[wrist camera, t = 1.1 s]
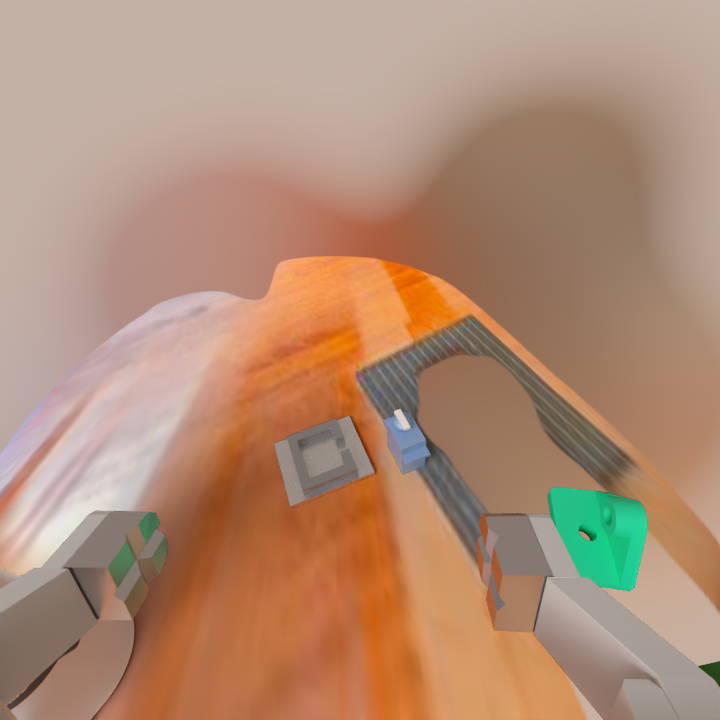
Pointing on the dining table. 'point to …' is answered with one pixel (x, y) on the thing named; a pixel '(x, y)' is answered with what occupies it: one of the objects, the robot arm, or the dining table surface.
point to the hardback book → (712, 671)
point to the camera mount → (601, 534)
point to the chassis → (322, 460)
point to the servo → (406, 441)
